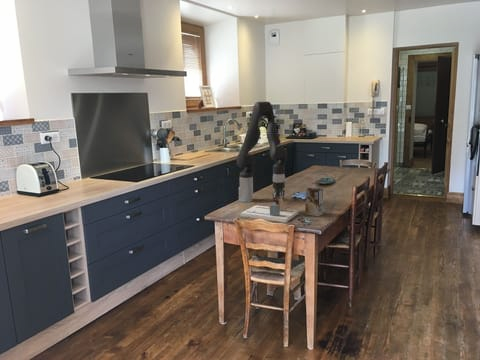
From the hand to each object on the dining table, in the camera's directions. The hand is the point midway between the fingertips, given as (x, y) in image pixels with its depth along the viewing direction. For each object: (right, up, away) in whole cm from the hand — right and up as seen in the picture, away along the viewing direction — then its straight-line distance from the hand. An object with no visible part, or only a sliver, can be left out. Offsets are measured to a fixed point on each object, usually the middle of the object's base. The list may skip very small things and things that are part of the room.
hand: (278, 207), depth 258 cm
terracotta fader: (0, -1, 0) cm, 1 cm away
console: (-6, -4, -3) cm, 8 cm away
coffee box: (+22, -4, -3) cm, 22 cm away
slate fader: (-3, -4, -11) cm, 12 cm away
